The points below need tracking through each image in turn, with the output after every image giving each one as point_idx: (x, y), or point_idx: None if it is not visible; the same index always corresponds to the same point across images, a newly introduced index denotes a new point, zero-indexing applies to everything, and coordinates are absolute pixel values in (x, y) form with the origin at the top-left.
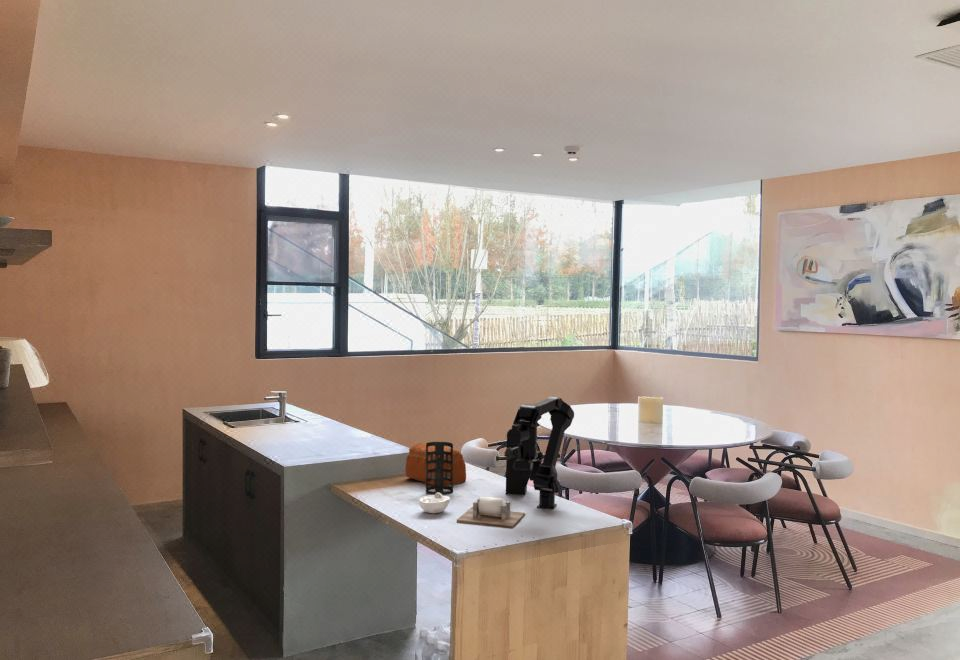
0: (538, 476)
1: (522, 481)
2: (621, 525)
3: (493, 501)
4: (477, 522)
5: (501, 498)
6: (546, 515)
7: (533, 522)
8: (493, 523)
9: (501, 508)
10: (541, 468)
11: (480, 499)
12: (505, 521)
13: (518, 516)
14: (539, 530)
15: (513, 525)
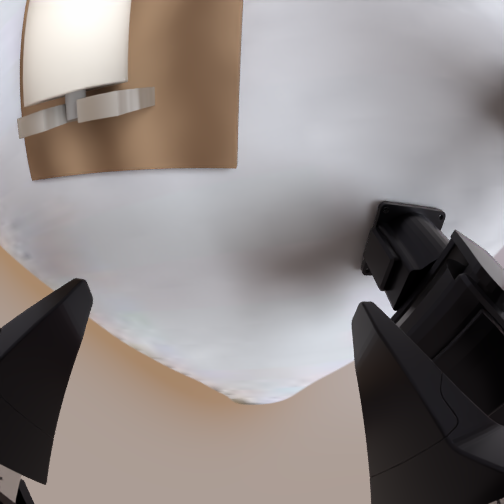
0: (456, 337)
1: (36, 311)
2: (242, 402)
3: (24, 54)
4: (23, 39)
5: (48, 79)
6: (276, 256)
7: (145, 225)
8: (23, 100)
9: (48, 100)
10: (478, 399)
11: None
12: (58, 129)
13: (152, 153)
14: (77, 261)
15: (39, 179)
